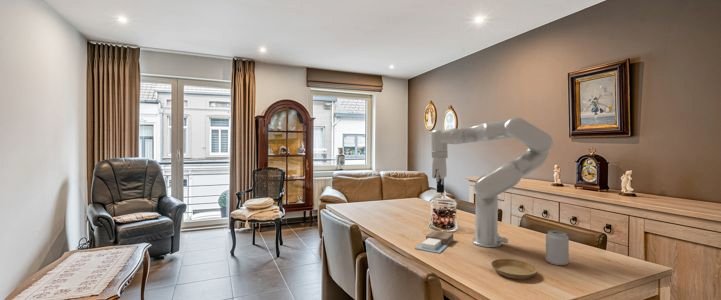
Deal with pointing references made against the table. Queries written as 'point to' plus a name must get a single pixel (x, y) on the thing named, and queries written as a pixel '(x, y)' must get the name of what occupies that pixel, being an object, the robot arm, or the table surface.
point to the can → (557, 247)
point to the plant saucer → (513, 268)
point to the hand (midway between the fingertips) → (440, 192)
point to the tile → (431, 243)
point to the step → (441, 237)
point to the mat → (437, 250)
